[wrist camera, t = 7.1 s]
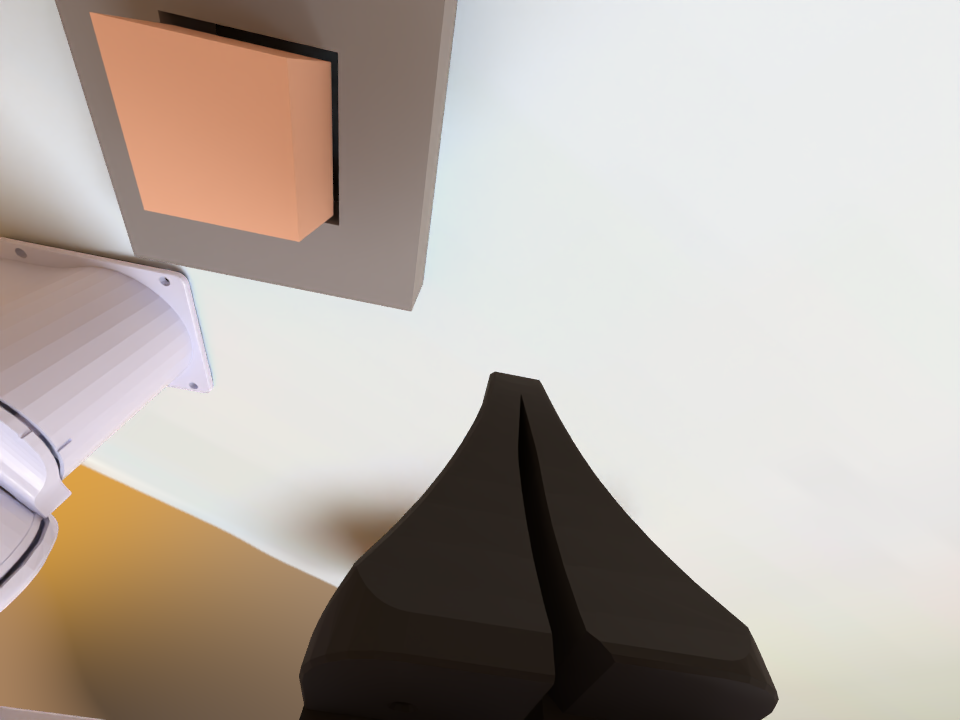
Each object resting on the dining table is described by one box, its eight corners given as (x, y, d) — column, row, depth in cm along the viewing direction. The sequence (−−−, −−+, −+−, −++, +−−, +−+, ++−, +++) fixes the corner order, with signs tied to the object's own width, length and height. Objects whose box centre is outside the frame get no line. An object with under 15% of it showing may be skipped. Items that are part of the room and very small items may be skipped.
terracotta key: (204, 188, 16) (144, 209, 13) (174, 25, 13) (89, 11, 10) (333, 215, 16) (299, 241, 13) (331, 62, 13) (287, 57, 11)
